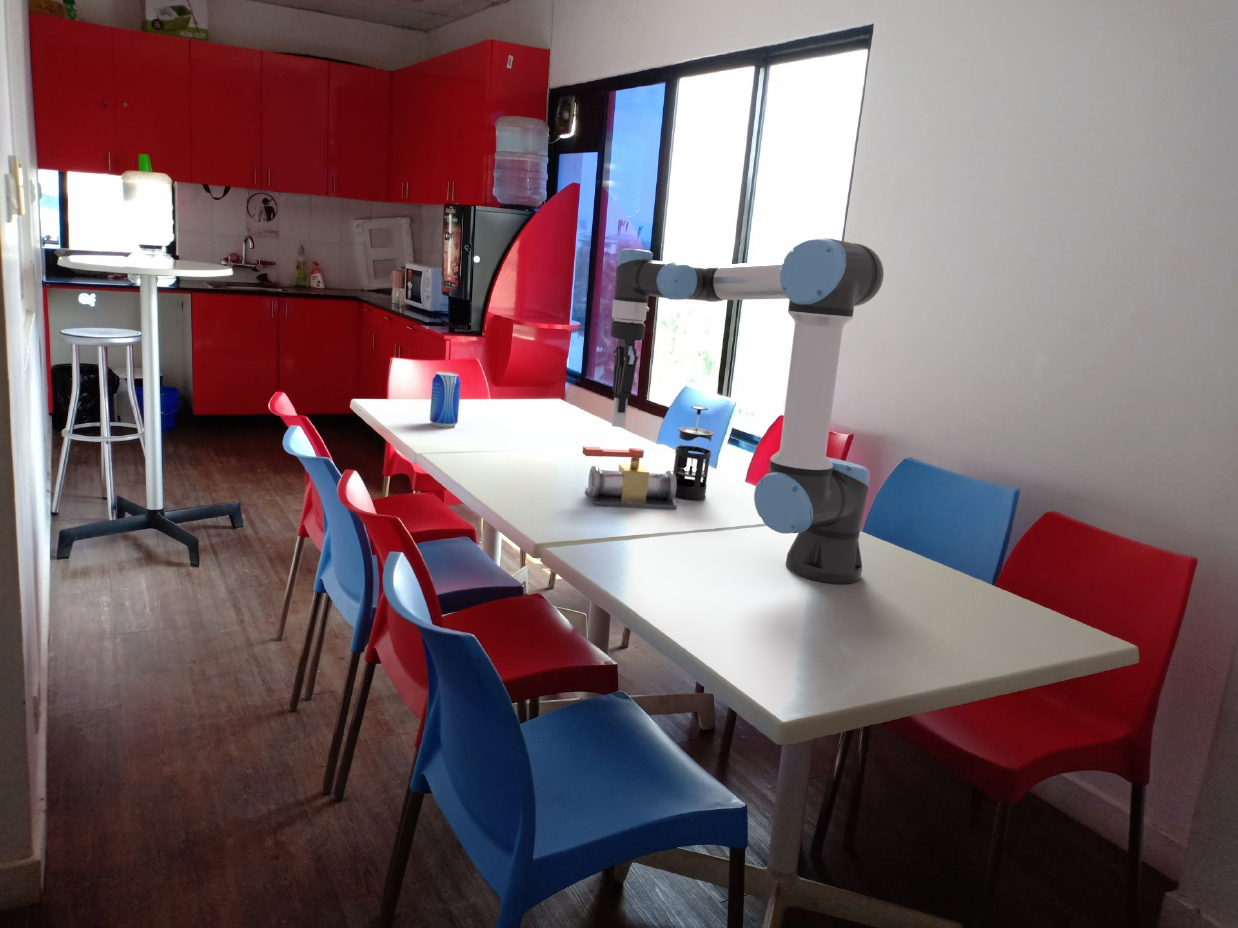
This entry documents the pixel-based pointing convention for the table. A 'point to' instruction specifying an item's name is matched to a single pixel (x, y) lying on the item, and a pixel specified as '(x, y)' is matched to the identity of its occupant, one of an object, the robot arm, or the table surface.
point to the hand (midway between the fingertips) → (618, 426)
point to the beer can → (445, 399)
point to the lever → (613, 452)
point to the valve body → (632, 487)
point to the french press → (690, 487)
